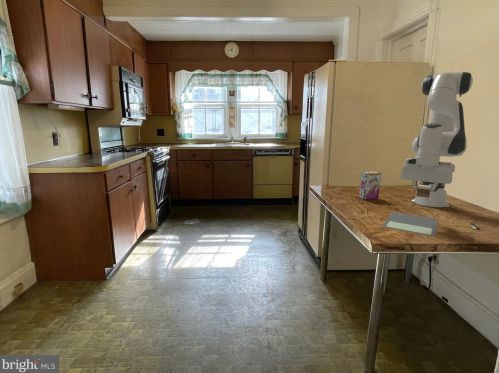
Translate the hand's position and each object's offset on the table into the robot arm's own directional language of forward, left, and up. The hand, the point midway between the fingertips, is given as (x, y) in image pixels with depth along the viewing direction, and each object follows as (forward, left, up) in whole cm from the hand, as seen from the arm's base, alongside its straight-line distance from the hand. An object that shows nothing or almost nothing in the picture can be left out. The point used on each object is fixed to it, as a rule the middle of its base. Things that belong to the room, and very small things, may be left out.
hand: (423, 191), depth 135 cm
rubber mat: (+5, -3, -15) cm, 16 cm away
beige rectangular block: (0, 0, -1) cm, 1 cm away
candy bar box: (-35, -30, -15) cm, 49 cm away
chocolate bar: (-13, +16, -16) cm, 26 cm away
